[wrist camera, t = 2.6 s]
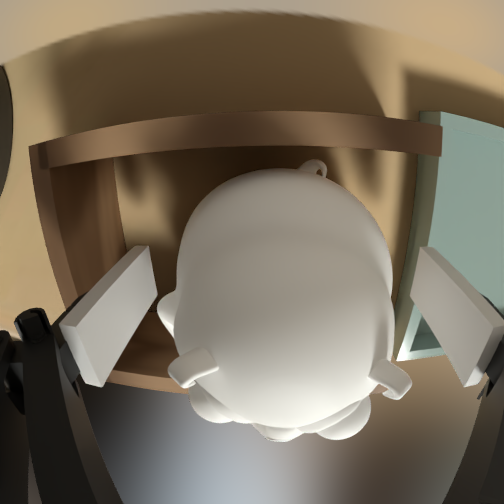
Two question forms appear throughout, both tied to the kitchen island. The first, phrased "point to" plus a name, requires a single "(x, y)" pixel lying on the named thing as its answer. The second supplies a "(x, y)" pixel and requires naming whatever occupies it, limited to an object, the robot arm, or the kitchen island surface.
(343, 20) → the kitchen island surface
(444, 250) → the tray
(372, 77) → the kitchen island surface
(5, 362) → the robot arm
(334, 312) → the figurine
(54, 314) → the kitchen island surface
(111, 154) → the wooden open box
